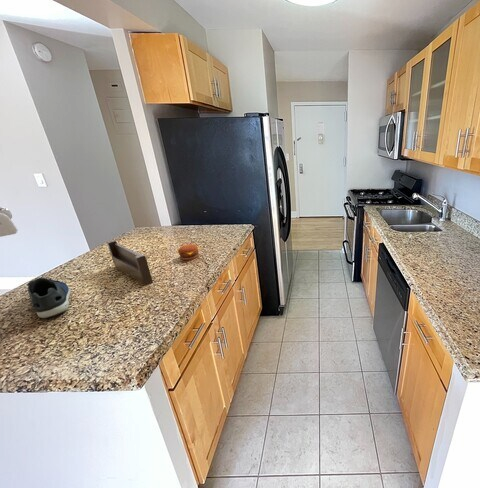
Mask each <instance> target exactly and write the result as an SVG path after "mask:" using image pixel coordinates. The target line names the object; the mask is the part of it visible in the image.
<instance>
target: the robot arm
mask: <svg viewBox="0 0 480 488" xmlns="http://www.w3.org/2000/svg"><path fill="white" fill-rule="evenodd" d="M12 218H13V215H12V212H11V210H9V208H5V207H1V206H0V238H1V237H6V236H12V235H16V234H17V233H18V228H17V226H16V225H15V223H14V222H13V220H12Z"/></svg>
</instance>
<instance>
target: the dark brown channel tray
mask: <svg viewBox="0 0 480 488" xmlns="http://www.w3.org/2000/svg"><path fill="white" fill-rule="evenodd" d="M106 245H107V247H108V250H109V253H110V255H111V258H112V262H113V265H114V267H115V268H117V269H118V270H119V271H121V272H123V273H124V274H126V275H128V276H129V277H131V278H132V279H134V280H136V281H137V282H139V283H141V284H142V285H144V286H147V285H151V284H152V283H154V281H153V277H152V274H151V271H150V267H149V264H148V260H147V257H146V255H145V254H140V253H138V252H136V251H134V250H131V249H130V248H127V247H125V246H124V245H122V244H120V243H118V241H117V240H115V239H114V240H110V241H107V242H106Z"/></svg>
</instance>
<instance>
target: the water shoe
mask: <svg viewBox="0 0 480 488" xmlns="http://www.w3.org/2000/svg"><path fill="white" fill-rule="evenodd" d="M27 292H28V295H29V298H30V301H31V305H32V307H33V310H35V311H36V314H37V315H36V316H38V317H39V318H41V319H50V318H54V317H57V316H60V315H62V314H63V313H64V312H66V311H67V310H68V309H69V307H70V306H69V305H70V302H69V299H70V295H71V288H70V287H69V285H68V284H67V283H65V282H63V281H60V280H53V279H52V278H50V277H47V276H43V277H38V278H36V279H32V280H30V281H29V282H27Z"/></svg>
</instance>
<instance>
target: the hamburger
mask: <svg viewBox="0 0 480 488" xmlns="http://www.w3.org/2000/svg"><path fill="white" fill-rule="evenodd" d="M200 249H202V247H200V246H198V245H196V244H192V243H189V244H185V245H181V246H180V247H179V248H178V250H177V251H176V252H175V254H178V255H179V259H180V260H181V261H192V260H195V259H198V258H199V257H200V253H199V250H200Z"/></svg>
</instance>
